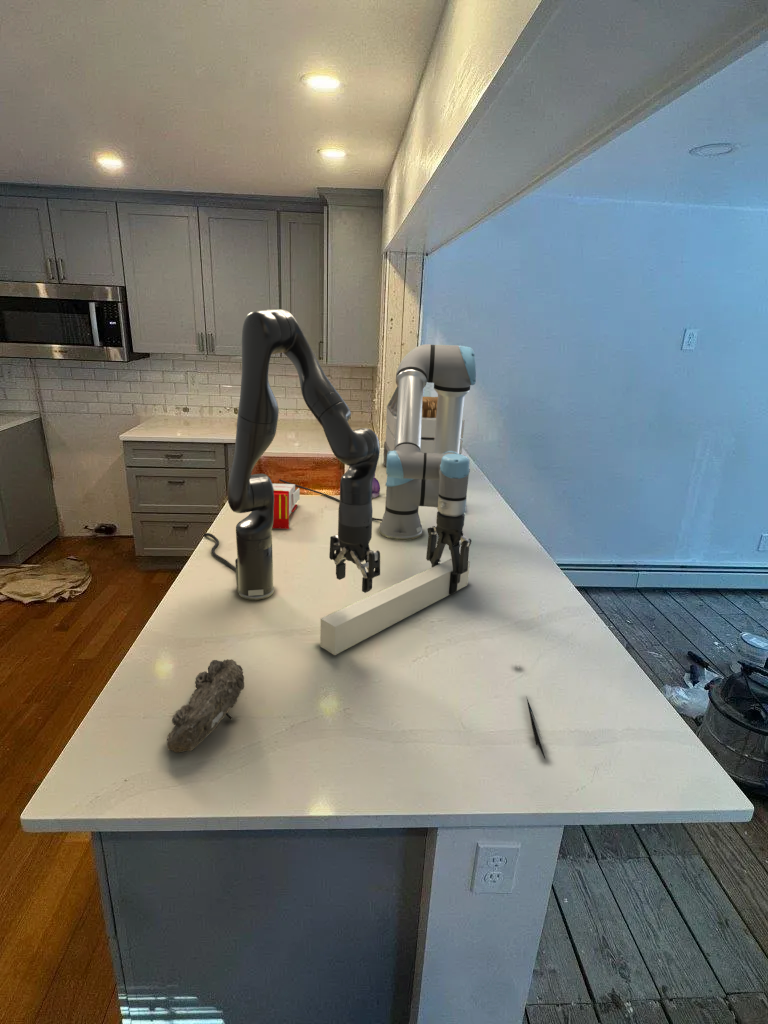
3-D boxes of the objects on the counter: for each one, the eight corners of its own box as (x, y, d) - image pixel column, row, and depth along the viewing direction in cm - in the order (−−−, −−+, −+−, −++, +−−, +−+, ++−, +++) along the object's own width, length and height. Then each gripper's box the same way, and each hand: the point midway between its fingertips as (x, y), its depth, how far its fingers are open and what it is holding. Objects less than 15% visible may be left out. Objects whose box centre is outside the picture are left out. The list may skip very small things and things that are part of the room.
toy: (301, 479, 224) (291, 492, 194) (301, 512, 226) (291, 530, 197) (270, 478, 223) (256, 491, 194) (271, 511, 226) (256, 529, 197)
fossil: (192, 660, 117) (244, 628, 112) (224, 691, 120) (276, 661, 115) (142, 746, 98) (202, 712, 93) (182, 779, 101) (242, 748, 96)
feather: (518, 672, 127) (523, 666, 127) (544, 763, 101) (551, 755, 100) (512, 668, 127) (517, 662, 127) (537, 758, 101) (544, 751, 100)
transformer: (382, 463, 289) (386, 382, 275) (445, 464, 293) (451, 384, 279) (390, 482, 257) (394, 392, 243) (460, 483, 261) (468, 394, 247)
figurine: (365, 500, 232) (366, 464, 227) (354, 493, 241) (355, 458, 236) (385, 497, 237) (387, 463, 231) (374, 490, 245) (375, 457, 240)
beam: (453, 579, 168) (456, 556, 165) (467, 585, 165) (470, 561, 162) (320, 646, 132) (320, 618, 129) (334, 655, 129) (335, 626, 126)
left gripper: (321, 514, 127) (320, 579, 133) (365, 532, 118) (363, 601, 124) (345, 507, 133) (344, 570, 138) (390, 524, 124) (387, 590, 129)
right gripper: (416, 506, 156) (411, 582, 164) (470, 524, 144) (462, 605, 152) (433, 500, 161) (427, 574, 169) (487, 518, 150) (478, 596, 157)
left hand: (353, 584), depth 131 cm, fingers open, 8 cm apart
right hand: (444, 588), depth 161 cm, fingers open, 5 cm apart
